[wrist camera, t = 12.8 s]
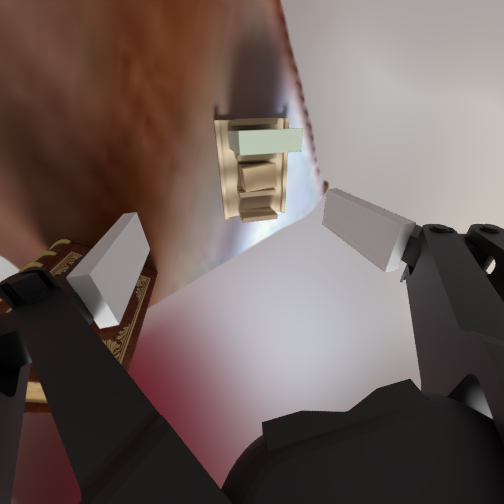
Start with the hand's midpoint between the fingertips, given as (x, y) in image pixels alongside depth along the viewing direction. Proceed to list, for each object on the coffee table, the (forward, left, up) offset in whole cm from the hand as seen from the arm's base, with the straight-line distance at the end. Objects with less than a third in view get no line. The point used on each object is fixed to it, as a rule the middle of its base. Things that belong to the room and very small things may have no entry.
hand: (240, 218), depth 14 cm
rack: (+3, +9, -36) cm, 37 cm away
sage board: (-4, +9, -35) cm, 36 cm away
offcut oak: (+3, +9, -31) cm, 33 cm away
